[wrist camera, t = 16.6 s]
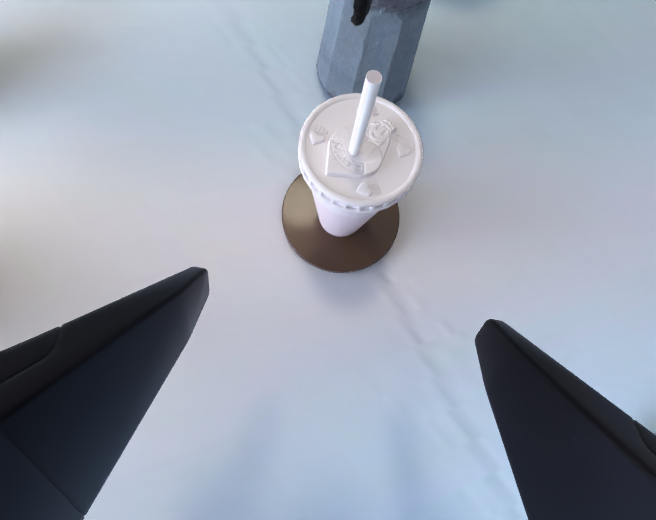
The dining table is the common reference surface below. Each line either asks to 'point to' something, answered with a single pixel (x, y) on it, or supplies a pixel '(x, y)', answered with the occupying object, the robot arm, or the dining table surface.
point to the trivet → (327, 247)
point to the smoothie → (358, 156)
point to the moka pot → (370, 44)
